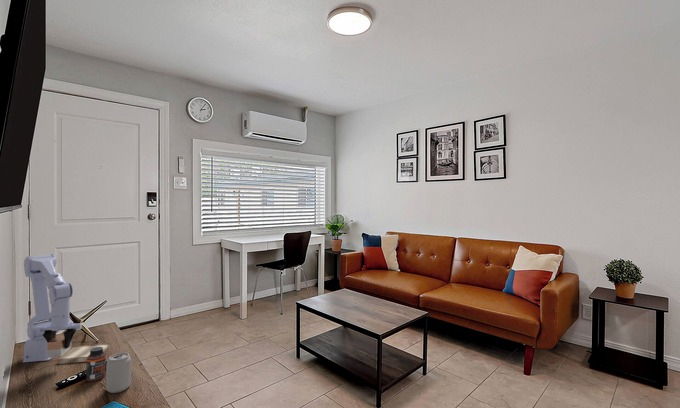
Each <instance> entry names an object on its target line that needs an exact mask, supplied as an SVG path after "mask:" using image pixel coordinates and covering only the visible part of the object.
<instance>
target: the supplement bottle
mask: <svg viewBox="0 0 680 408" xmlns="http://www.w3.org/2000/svg"><path fill="white" fill-rule="evenodd" d="M106 357H107V355H106V352H103V347H95V348H92V349H91V350H90V355H89V356H88V357H87V361H86V377H85V378H86V381H87V382H96V381H100V380H101V379H104V377H106V363H107V360H106V359H107V358H106Z"/></svg>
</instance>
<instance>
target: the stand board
mask: <svg viewBox="0 0 680 408" xmlns="http://www.w3.org/2000/svg"><path fill="white" fill-rule="evenodd" d="M95 347H103V352H104V353H106V351H107V350H108V349H109V348H111V344H110V343H96V344H87V345H85V344H84V345H74V346H73V347H71V349H70V350H68V351H67V352H66V353H65V354H64V355H62V356H61V357H59V358H58V359H57V365H60V364H62V365H63V364H72V363H82V362H84V363H85V362H86V363H87V357H88V356H89V355H90V350H91V349H92V348H95Z"/></svg>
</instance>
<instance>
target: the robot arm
mask: <svg viewBox="0 0 680 408" xmlns="http://www.w3.org/2000/svg"><path fill="white" fill-rule="evenodd" d="M57 260H58V259H57V256H56V255H55V254H54V253H53V254H52V253H51V254H41V255H34V256H28V255H27V256H26V257H25V258H24V261H23V262H24V263H23V269H24V274H25V277H27V278H30V281H31V285H32V286H31V287H32V294H33V295H32V296H33V304H34V313H35V315H33V317H31V318H30V319H29V320H28V322H27V329H26V333H27V337H28V338H27V339H26V340H25V343H24V345H23V360H22V363H33V362H43V361H50V360H51V359H52V358H54V357H52V358H47V342H49V341H50V340H52V339H53V338H55V337H56V336H57V334H58V333H59V332H60V331H64V332H63V334H64V338H65V349H67V348H68V347H70V343H71V344H72V339H73V336H74V334H75V333H76V332H77V331H80V330H81V329H82V328H83V323H78V322H77V323H76V322H75V323H74V322H70V306H71V305H70V304H71V302H70V299H71V298H72V296H73V292H74V291H73V290H74V289H73V285H72V284H71V283H70V282H66V280H65V278H64V277H63V276H62V274H61V273H59V272H57V271H56V267H57ZM50 306H51V308H50ZM50 309H51V310H50Z"/></svg>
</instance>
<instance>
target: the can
mask: <svg viewBox="0 0 680 408" xmlns="http://www.w3.org/2000/svg"><path fill="white" fill-rule="evenodd" d="M105 369H106V370H105V390H106V391H107V392H109V393H111V394H117V393H121V392H123V391H125V390H127V389H128V388H129V387H130V386H131V384H132V379H131V378H132V377H131V376H132V375H131V373H132V372H131V371H132V358H131V356H130V354H129V352H118V353H115V354H112V355H110V356H109V358H108V360H106V364H105Z"/></svg>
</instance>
